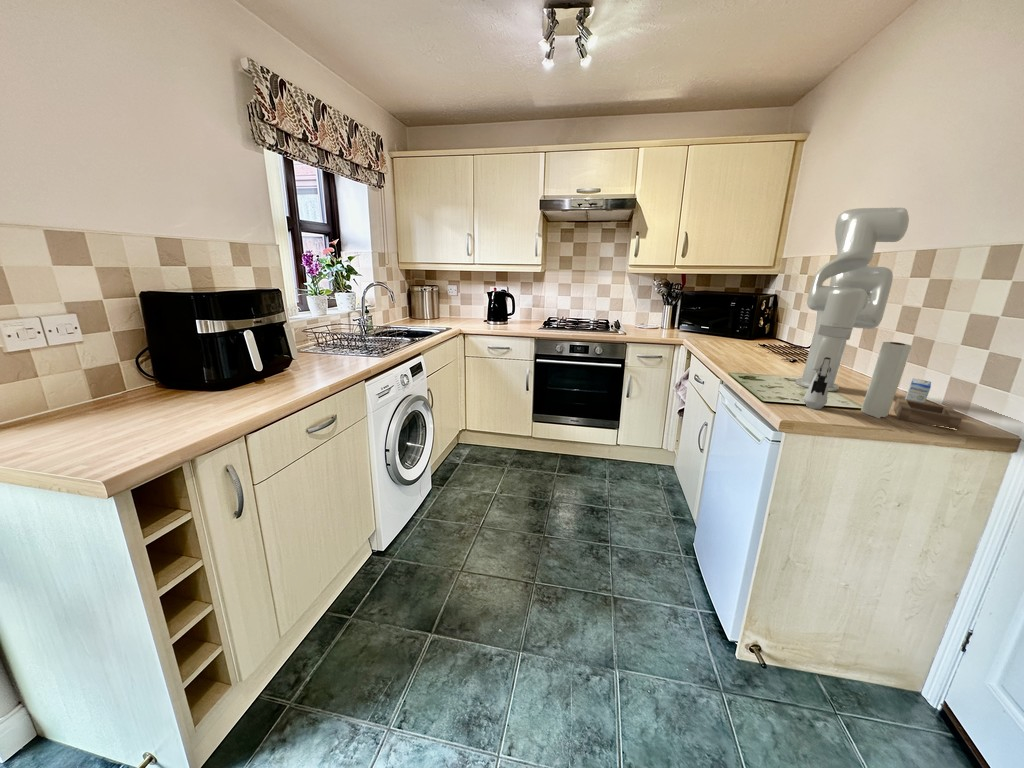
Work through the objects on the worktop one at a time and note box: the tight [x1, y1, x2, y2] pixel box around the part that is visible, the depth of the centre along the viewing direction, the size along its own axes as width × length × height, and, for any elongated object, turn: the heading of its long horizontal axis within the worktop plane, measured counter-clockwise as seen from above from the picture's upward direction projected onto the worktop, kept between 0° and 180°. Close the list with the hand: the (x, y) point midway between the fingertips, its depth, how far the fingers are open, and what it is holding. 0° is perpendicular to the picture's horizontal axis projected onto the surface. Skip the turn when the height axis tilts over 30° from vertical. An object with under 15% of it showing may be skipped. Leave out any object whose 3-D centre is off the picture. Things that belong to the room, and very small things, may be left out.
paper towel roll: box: [860, 341, 912, 420], centre depth 117 cm, size 7×6×21 cm
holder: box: [893, 397, 963, 430], centre depth 118 cm, size 12×12×4 cm
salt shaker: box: [803, 367, 832, 410], centre depth 122 cm, size 6×6×13 cm
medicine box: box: [904, 378, 932, 403], centre depth 127 cm, size 8×4×9 cm, turn 134°
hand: (817, 392), depth 122 cm, fingers closed on salt shaker, 3 cm apart
